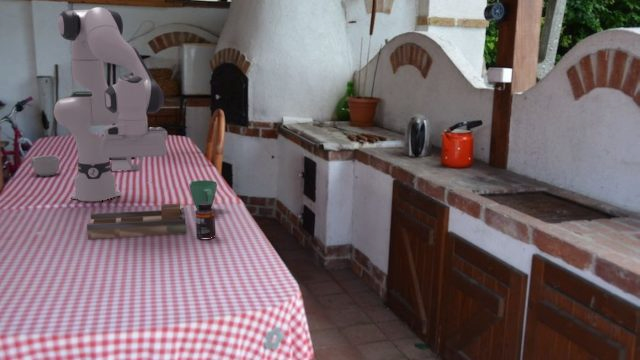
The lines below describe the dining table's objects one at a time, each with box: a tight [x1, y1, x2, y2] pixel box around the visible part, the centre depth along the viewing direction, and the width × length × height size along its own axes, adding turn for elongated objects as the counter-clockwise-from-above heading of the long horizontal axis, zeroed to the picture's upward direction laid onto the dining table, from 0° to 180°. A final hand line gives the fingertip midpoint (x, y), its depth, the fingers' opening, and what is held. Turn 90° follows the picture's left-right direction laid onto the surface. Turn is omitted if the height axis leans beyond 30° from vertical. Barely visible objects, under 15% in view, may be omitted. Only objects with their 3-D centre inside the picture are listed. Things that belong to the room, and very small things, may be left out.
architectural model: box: [109, 157, 136, 172], centre depth 294 cm, size 20×25×10 cm
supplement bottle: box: [195, 202, 216, 239], centre depth 200 cm, size 6×6×11 cm
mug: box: [189, 179, 218, 211], centre depth 229 cm, size 15×10×10 cm
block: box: [160, 203, 181, 220], centre depth 208 cm, size 6×6×4 cm
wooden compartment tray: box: [86, 207, 187, 240], centre depth 207 cm, size 13×30×5 cm, turn 104°
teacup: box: [29, 154, 60, 177], centre depth 283 cm, size 14×11×8 cm
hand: (135, 170), depth 203 cm, fingers closed
